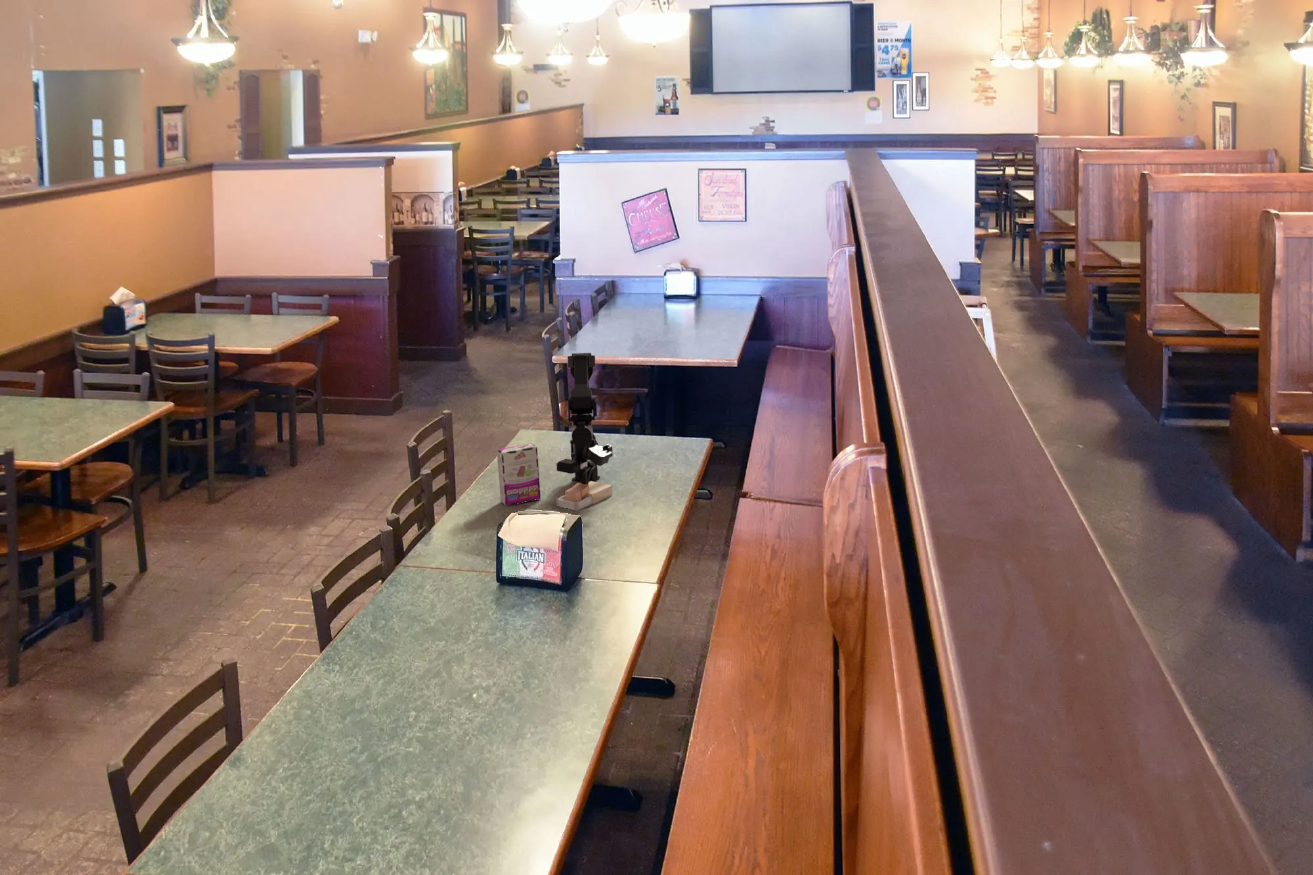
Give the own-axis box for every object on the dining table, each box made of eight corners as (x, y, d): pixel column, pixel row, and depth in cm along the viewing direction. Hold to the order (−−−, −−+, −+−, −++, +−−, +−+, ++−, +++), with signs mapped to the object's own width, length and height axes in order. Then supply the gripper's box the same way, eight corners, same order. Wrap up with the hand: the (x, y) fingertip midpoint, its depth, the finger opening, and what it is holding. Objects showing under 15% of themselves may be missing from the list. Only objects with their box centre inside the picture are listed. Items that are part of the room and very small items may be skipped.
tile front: (571, 500, 334) (566, 503, 332) (569, 488, 332) (565, 491, 331) (581, 503, 331) (577, 506, 330) (580, 490, 330) (576, 493, 328)
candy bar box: (534, 495, 341) (531, 442, 337) (541, 500, 337) (538, 446, 332) (499, 501, 336) (495, 448, 332) (505, 506, 332) (502, 452, 327)
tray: (555, 506, 331) (555, 498, 331) (571, 499, 337) (570, 492, 336) (576, 510, 327) (576, 503, 326) (591, 504, 333) (591, 496, 332)
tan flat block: (571, 499, 337) (570, 489, 336) (591, 490, 344) (590, 481, 343) (592, 504, 332) (592, 494, 332) (612, 495, 340) (611, 485, 339)
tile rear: (571, 495, 333) (569, 489, 332) (578, 488, 336) (577, 482, 335) (582, 497, 331) (581, 491, 330) (589, 490, 334) (588, 484, 333)
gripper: (584, 448, 319) (587, 501, 323) (624, 432, 333) (626, 483, 338) (553, 443, 325) (556, 494, 329) (594, 427, 340) (596, 477, 344)
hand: (585, 487), depth 335 cm, fingers closed
